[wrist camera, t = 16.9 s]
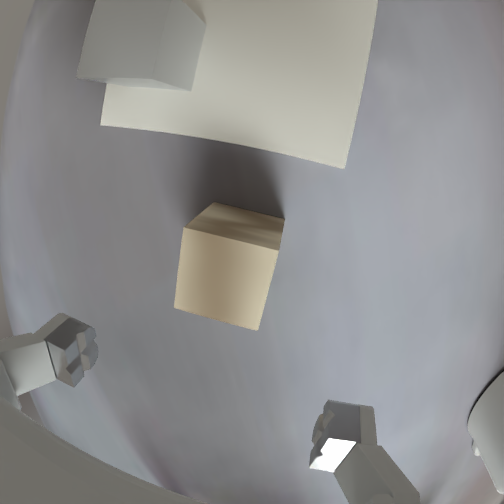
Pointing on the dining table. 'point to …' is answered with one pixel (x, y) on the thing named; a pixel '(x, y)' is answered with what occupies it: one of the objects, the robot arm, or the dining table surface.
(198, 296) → the birch block
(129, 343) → the dining table surface
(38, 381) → the robot arm
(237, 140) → the cream flat sheet
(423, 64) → the dining table surface
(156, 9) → the grey block
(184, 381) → the dining table surface
